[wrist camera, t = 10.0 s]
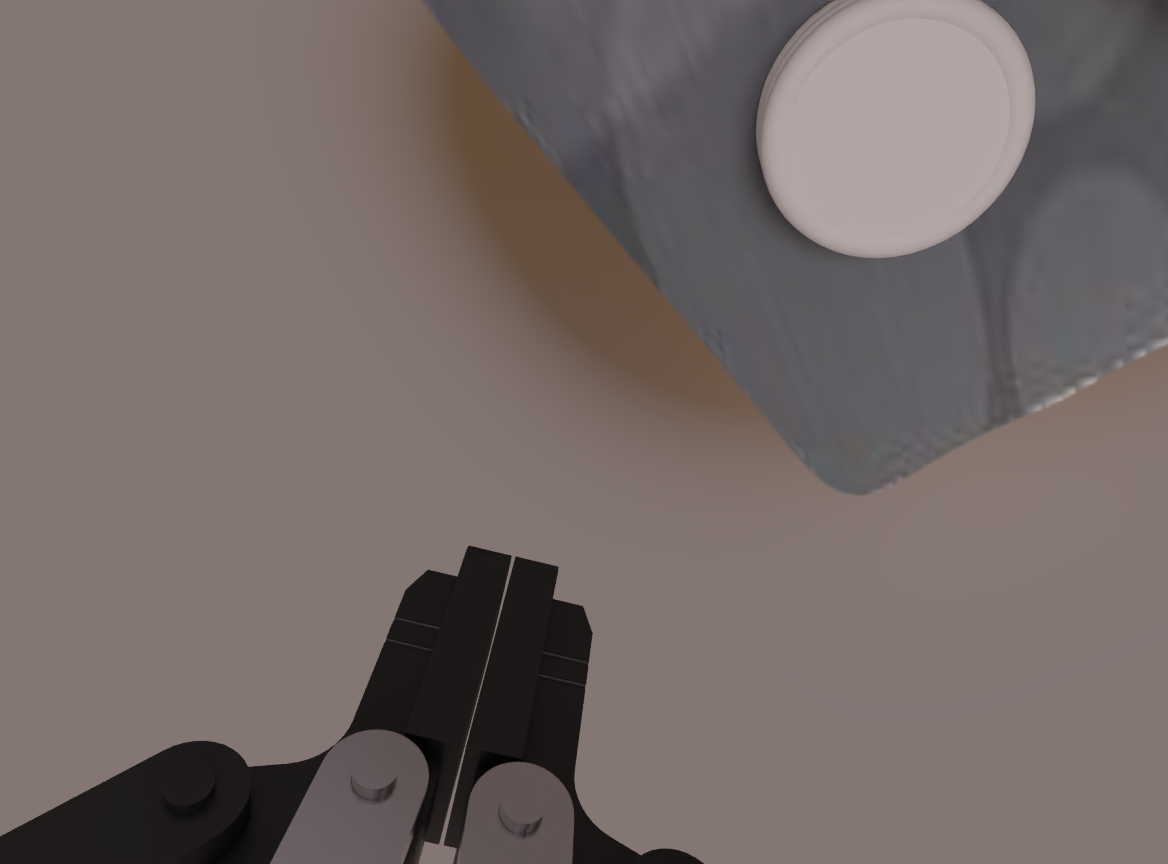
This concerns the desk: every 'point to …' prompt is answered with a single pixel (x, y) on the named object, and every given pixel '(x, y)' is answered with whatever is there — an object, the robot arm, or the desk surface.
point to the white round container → (894, 122)
